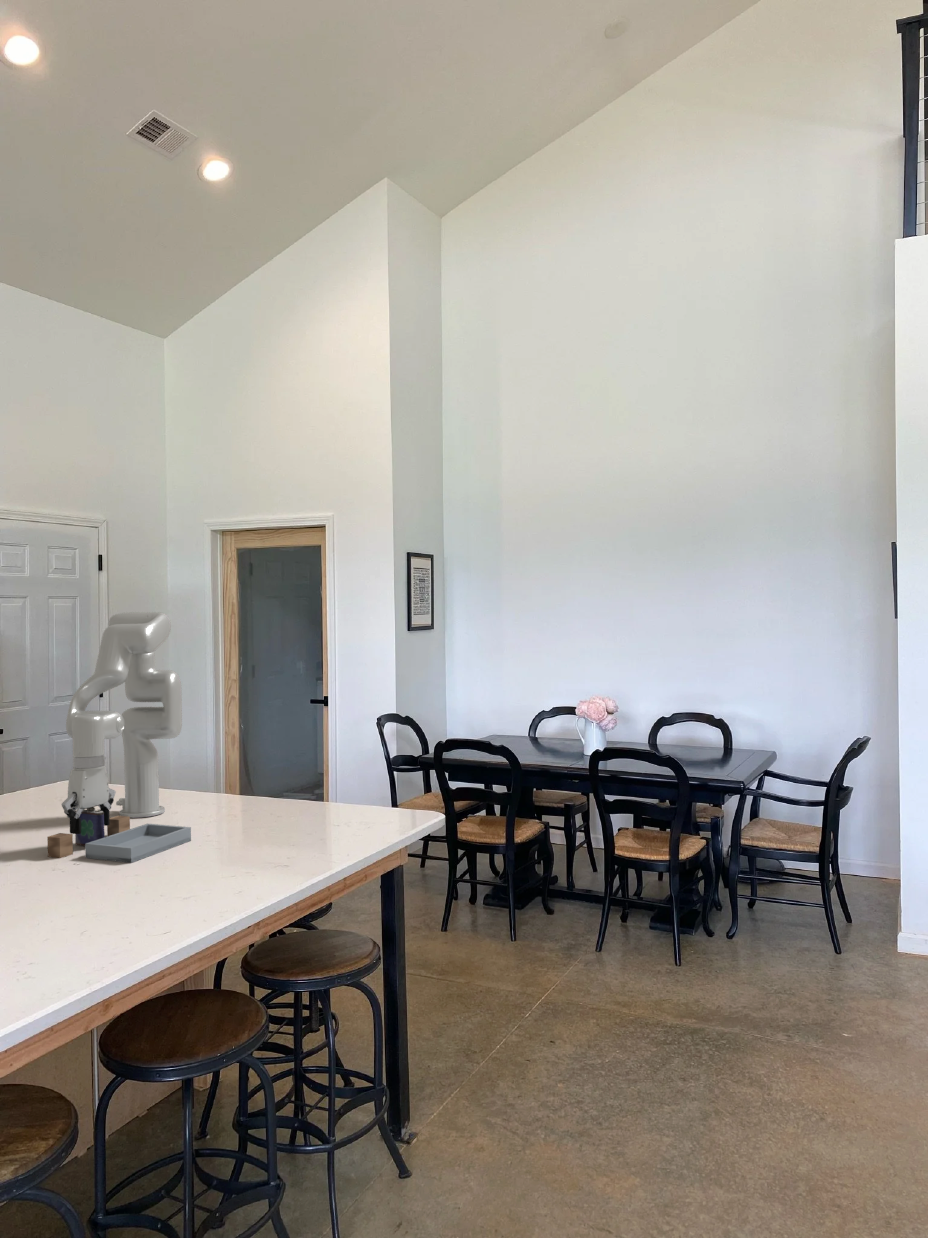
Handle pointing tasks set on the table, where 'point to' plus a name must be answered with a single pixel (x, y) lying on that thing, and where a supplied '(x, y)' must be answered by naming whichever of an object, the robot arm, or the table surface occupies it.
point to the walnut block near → (60, 845)
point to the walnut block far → (118, 825)
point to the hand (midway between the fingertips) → (90, 829)
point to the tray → (137, 843)
